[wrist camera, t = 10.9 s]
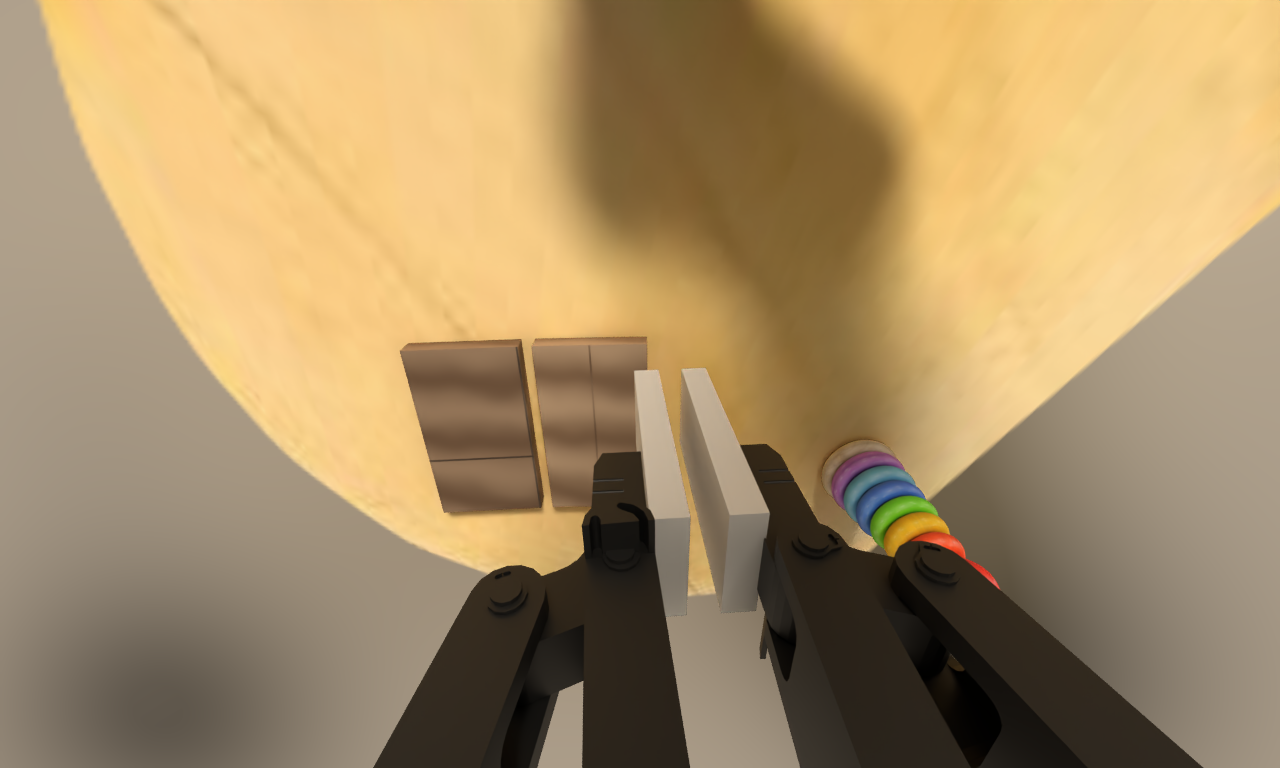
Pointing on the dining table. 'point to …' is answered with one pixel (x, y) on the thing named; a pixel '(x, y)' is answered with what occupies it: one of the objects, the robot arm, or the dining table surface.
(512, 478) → the panel
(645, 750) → the robot arm
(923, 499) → the stacking toy
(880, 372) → the dining table surface
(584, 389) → the plank
